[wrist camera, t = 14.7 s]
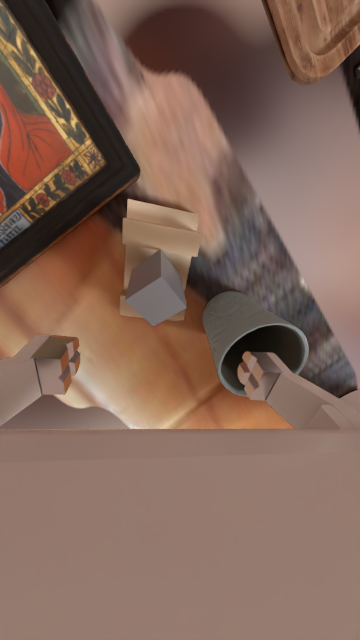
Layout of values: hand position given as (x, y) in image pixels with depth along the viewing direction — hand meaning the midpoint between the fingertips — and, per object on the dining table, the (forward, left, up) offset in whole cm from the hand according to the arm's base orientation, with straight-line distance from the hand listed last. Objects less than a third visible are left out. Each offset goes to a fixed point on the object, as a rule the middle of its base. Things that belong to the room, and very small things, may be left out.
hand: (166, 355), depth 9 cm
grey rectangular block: (0, 0, -14) cm, 14 cm away
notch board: (0, 0, -19) cm, 19 cm away
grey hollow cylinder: (-6, -12, -19) cm, 23 cm away
